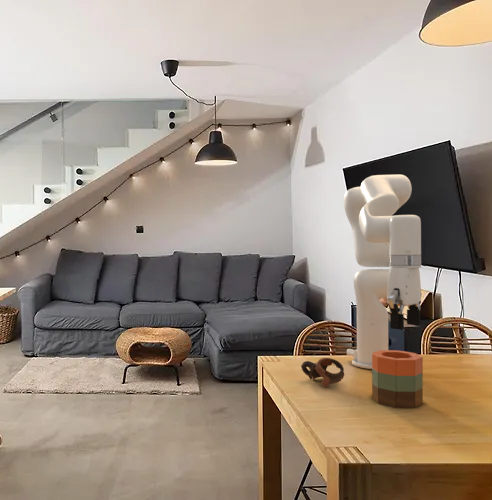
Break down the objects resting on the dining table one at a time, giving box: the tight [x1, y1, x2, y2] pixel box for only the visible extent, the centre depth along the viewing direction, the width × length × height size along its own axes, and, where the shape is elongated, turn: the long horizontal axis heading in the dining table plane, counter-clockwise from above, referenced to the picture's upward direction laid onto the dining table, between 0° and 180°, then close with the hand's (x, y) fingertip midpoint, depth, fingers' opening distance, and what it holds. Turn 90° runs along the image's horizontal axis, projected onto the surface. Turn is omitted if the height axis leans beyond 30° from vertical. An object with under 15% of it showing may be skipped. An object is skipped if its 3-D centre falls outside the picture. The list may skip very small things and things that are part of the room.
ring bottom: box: [371, 382, 424, 409], centre depth 138 cm, size 11×11×4 cm
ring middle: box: [371, 368, 424, 392], centre depth 138 cm, size 11×11×4 cm
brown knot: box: [300, 357, 345, 388], centre depth 156 cm, size 12×10×8 cm
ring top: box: [372, 349, 424, 376], centre depth 138 cm, size 11×11×4 cm
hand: (405, 326), depth 141 cm, fingers open, 9 cm apart
